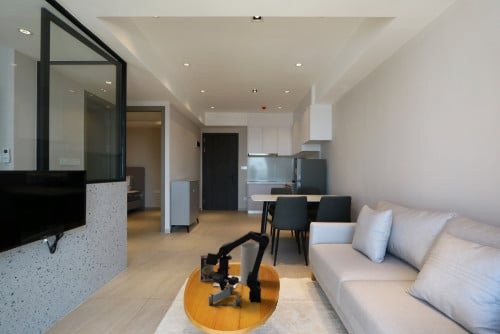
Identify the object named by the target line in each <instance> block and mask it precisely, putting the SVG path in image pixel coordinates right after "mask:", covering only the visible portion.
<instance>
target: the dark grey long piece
mask: <svg viewBox="0 0 500 334" xmlns="http://www.w3.org/2000/svg"><path fill="white" fill-rule="evenodd" d="M213 294H214V293H213ZM213 294H210V293H209V295H208V306H209V307H232V308H233V309H234V308H235V309H236V308H238V307H241V304H242V303H241V302H242V301H241V298H242V297H241V296H242V295H241V294H236V297H235V298H236V299H233V300H232V303H214V302H213Z"/></svg>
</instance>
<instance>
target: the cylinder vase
mask: <svg viewBox="0 0 500 334" xmlns="http://www.w3.org/2000/svg"><path fill="white" fill-rule="evenodd" d="M258 250H259V244H258V243H257V242H245V243H243V244H241V245H240V284H242V285H244V286H247V282H246V280H247V277H248V273H249V271H250V272H252V270H253V267H254V264H255V260H256V257H257V253H258ZM258 281H259V282H260V270H259V271H258Z"/></svg>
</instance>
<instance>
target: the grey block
mask: <svg viewBox="0 0 500 334" xmlns="http://www.w3.org/2000/svg"><path fill="white" fill-rule="evenodd" d="M229 297H231V294H230V288H229V287H228V288H227V289H226V288H225V289H224V290H222V291H221V290H219V291H218V292H215V293H213V304H216V303H218V302H219V301H222V300H224V299H226V298H229Z"/></svg>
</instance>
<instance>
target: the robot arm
mask: <svg viewBox="0 0 500 334" xmlns="http://www.w3.org/2000/svg"><path fill="white" fill-rule="evenodd" d="M250 240H252V241H254V242H255V243H259V250H258V253H257V257H256V260H255V264H254V267H253V270H252V272H250V271H249V273H248V277H247V280H246V282H247V285H246V286H247V287H248V289H249V292H248V298H249V299H248V300H249V303H262V289H261V286H262V282H261V281H260V280H259V281H258V271H259V272H260V268H261V264H262V261H263V257H264V255H265V251H266V249H267V247H268V245H269V243H270V241H271V235H269V234H268V233H266V232H264V233H263V232H256V231H253V230H251V231H250V230H249V231H248V232H247V233H245V234H244V235H241V236H240V237H238V238H236V239H234V240H233V241H229V242H225V243H223V244H222V245H221V246H220V247H219V249H218V251H217V253H211V252H208V253H207V255H208V256H207V260H206V265H214V267H215V266H217V265H218V267H217V270H216V271H212V272H210V273H209V274H208V278H209V279H213V281H212V282H213V283H217V284H218V285H219V287H220V291H222V290H224V289H226V285H227V284H230V285H234V286H235V285H237V284H238V283H239V282H240V280H239V279H240V278H239V277H238V276H234V275H233V276H231V277H230V273H229V270H230V266H229V264H230V261H231V260H232V259H233V257H232V256H231V252H232V251H233V250H234V249H236V248H238V247H240V246H241V244H244V243H248V242H249V241H250Z"/></svg>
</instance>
